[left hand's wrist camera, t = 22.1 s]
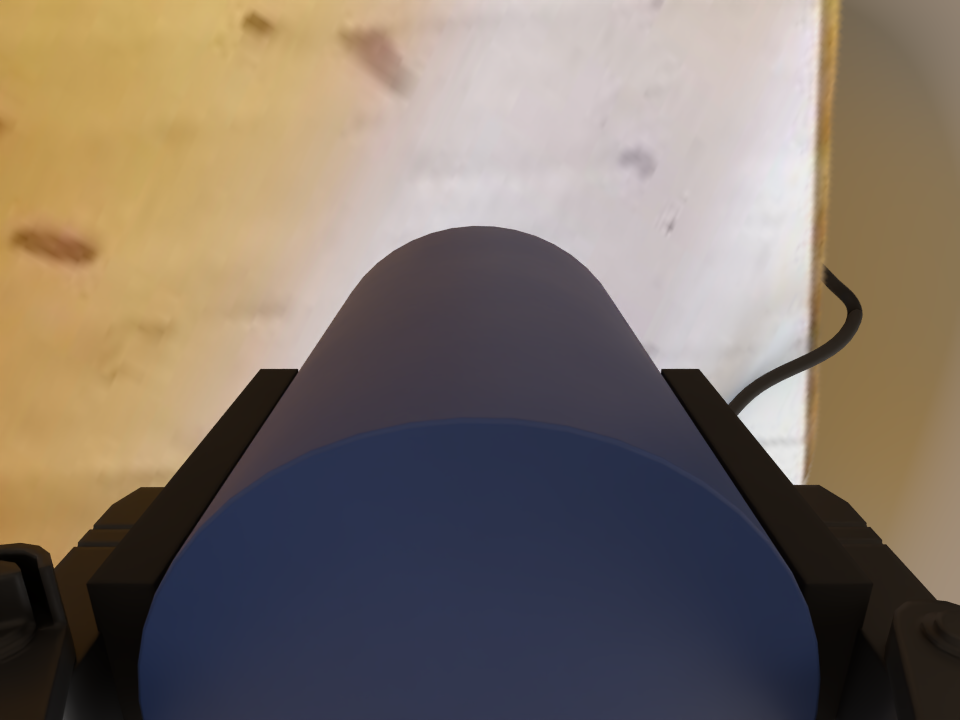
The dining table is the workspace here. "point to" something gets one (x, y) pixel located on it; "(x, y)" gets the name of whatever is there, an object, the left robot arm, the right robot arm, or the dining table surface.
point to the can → (478, 524)
